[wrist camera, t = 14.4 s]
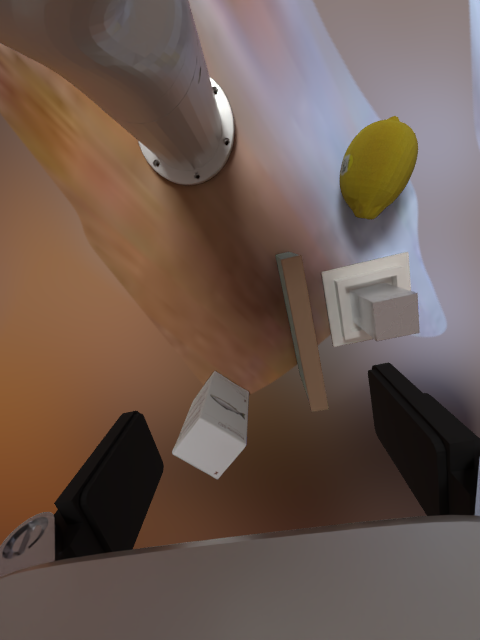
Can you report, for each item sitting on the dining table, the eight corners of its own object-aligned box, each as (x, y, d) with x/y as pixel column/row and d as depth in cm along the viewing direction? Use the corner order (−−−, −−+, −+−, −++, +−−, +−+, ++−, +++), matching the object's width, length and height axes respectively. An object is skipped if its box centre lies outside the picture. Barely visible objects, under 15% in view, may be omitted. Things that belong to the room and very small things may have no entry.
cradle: (321, 272, 38) (324, 273, 36) (406, 251, 37) (414, 252, 35) (332, 345, 41) (336, 350, 40) (411, 329, 40) (419, 334, 38)
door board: (274, 255, 38) (281, 260, 28) (289, 251, 38) (301, 255, 28) (299, 374, 43) (311, 412, 34) (312, 372, 43) (328, 409, 34)
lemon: (352, 121, 33) (383, 84, 25) (409, 144, 33) (456, 115, 25) (316, 209, 36) (333, 200, 28) (368, 229, 36) (398, 226, 29)
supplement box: (250, 391, 45) (249, 446, 33) (226, 420, 47) (217, 482, 35) (214, 368, 44) (199, 417, 32) (192, 398, 46) (169, 455, 34)
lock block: (349, 290, 38) (372, 302, 31) (384, 282, 38) (417, 293, 30) (353, 321, 40) (376, 341, 32) (387, 314, 39) (419, 332, 31)
